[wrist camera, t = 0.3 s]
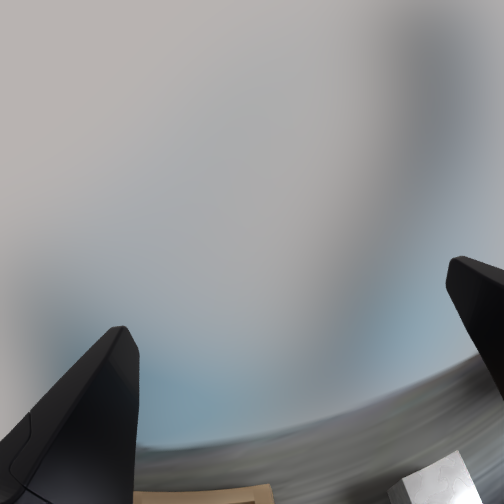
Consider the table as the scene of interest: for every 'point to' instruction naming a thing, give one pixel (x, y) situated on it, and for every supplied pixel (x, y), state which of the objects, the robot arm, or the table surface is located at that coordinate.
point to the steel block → (437, 484)
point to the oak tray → (209, 496)
